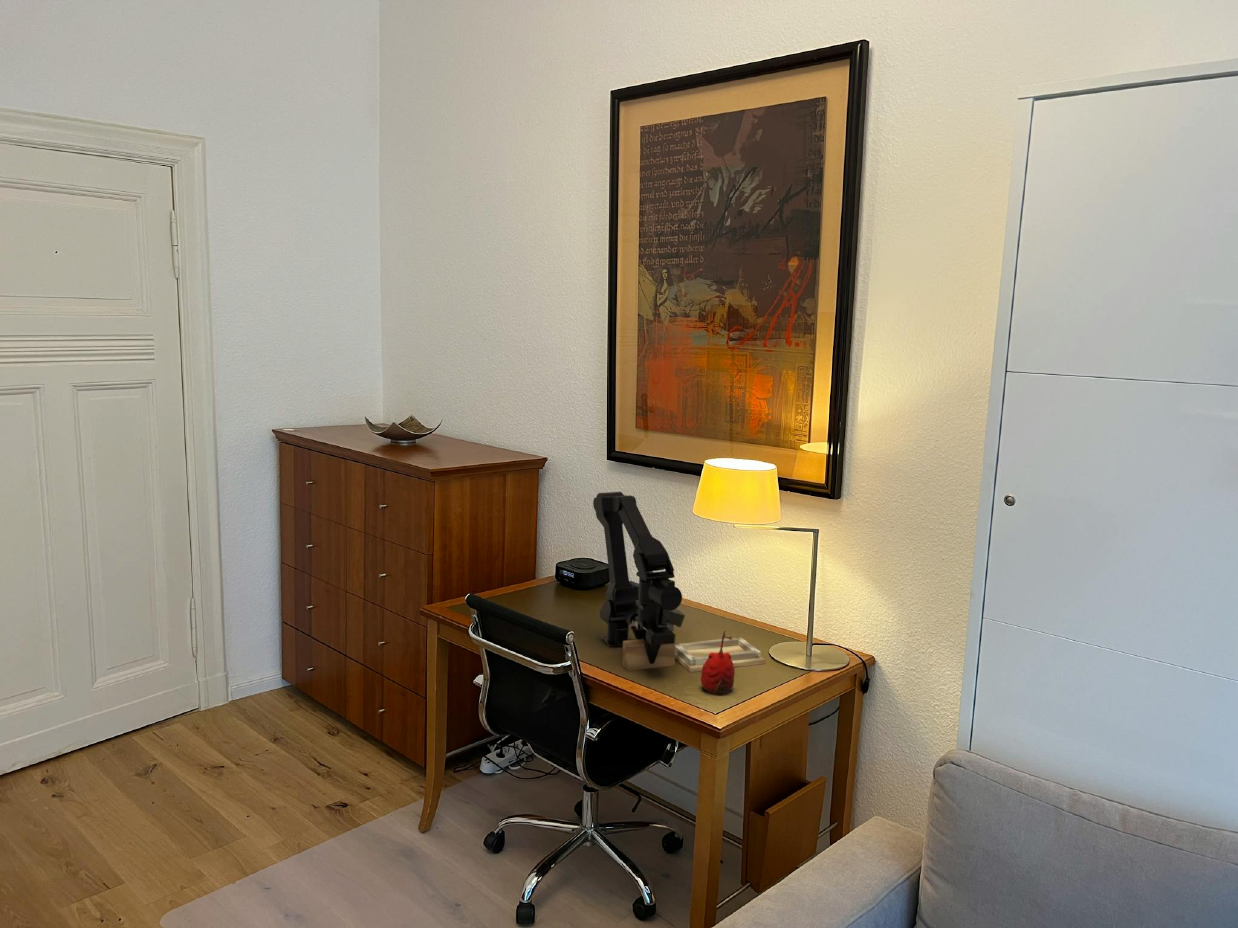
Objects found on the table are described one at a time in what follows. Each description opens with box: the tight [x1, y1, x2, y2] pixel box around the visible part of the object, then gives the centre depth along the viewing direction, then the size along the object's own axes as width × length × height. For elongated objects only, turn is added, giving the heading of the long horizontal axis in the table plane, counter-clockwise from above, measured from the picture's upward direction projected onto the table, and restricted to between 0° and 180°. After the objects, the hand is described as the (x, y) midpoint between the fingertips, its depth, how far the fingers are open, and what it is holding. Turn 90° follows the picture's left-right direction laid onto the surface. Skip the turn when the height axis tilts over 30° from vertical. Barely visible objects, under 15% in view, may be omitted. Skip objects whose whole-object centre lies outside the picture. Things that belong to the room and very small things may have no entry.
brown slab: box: [622, 639, 676, 671], centre depth 223 cm, size 4×12×6 cm, turn 109°
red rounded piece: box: [700, 630, 736, 695], centre depth 208 cm, size 8×7×15 cm
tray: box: [675, 636, 766, 673], centre depth 229 cm, size 14×20×2 cm
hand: (648, 660), depth 223 cm, fingers closed on brown slab, 4 cm apart
